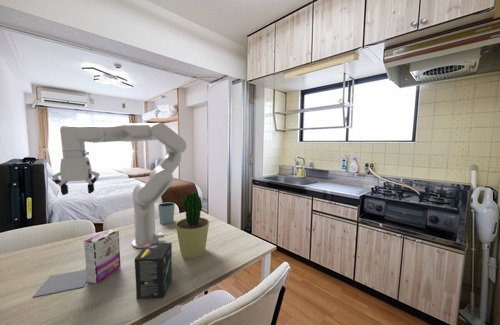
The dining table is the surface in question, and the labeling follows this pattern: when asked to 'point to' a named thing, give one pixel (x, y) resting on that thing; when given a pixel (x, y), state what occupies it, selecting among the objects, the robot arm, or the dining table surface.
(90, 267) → the candy bar box
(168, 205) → the blue grey cup
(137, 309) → the dining table surface
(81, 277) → the mat
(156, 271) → the tampon box
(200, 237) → the potted cactus
